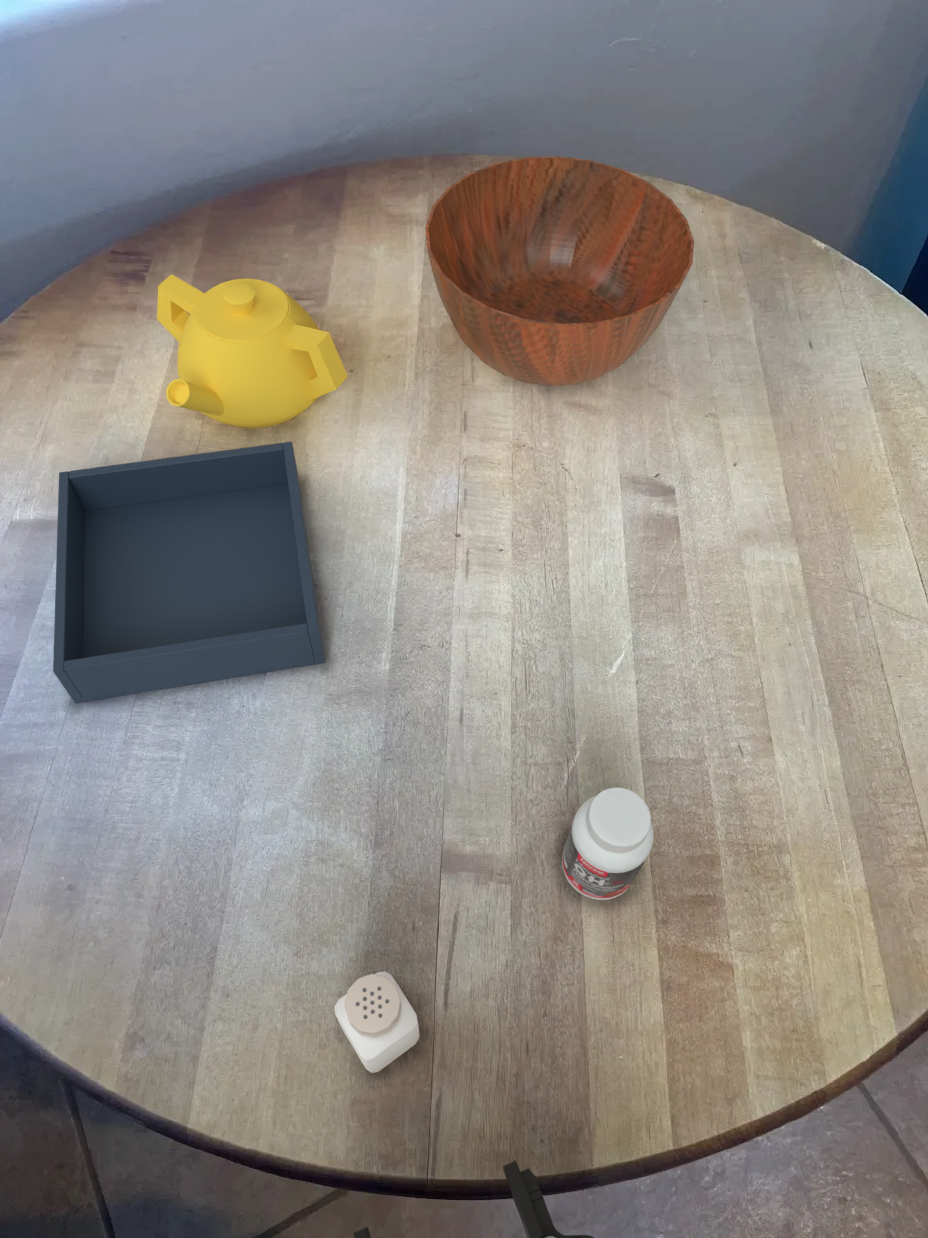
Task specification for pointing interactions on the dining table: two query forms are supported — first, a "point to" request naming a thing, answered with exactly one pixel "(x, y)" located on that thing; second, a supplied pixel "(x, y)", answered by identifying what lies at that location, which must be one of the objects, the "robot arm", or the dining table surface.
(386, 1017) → the salt shaker
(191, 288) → the teapot
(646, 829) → the pill bottle
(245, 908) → the dining table surface
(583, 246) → the bowl
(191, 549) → the tray
